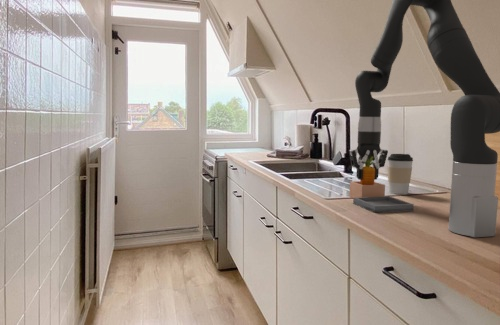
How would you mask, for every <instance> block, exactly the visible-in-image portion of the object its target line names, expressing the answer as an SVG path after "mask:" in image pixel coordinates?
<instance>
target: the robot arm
mask: <svg viewBox="0 0 500 325" xmlns="http://www.w3.org/2000/svg"><path fill="white" fill-rule="evenodd" d="M410 6H416V7H417V6H418V7H422V8H423V9H424V10H425V12H426V14H427V16H428V18H429V20H430V25H429V29H428V31H427V32H428V34H427V38H426V42H427V43H426V44H427V48H428V50H429V53H430V54H431V57H432V59H433V61H434V63H435V65H436V66H437V67H438V68H439V70H440V71H441V72H442V73H443V74H444V75H446V77H448V78H449V79H450V80H452V82H454V84H456V85H457V86H458V87H459V88H460V89H461V91H462V92H463V95H461V97H459V98H458V99H457V100H456V101H455V102H454V104H453V107H452V109H451V113H450V140H449V141H450V143H449V144H450V149H451V153H452V171H451V173H452V174H451V184H450V185H451V186H450V198H449V199H450V200H449V216H448V217H449V218H448V231H450V232H452V233H454V234H458V235H462V236H468V237H471V238H487V237H495V236H496V233H497V232H496V230H497V228H496V227H497V220H498V219H497V218H498V205H499V196H496V194H495V193H496V181H497V170H498V169H497V168H498V158H499V157H498V156H499V155H498V152H497V151H496V150H494V149H493V148H491V147H489V146H488V144H487V143H486V134H488V135H489V134H496V133H500V91H499V90H498V88H497V87H496V84H495V83H494V82H493V81H492V79H491V77H490V76H489V74H488V72H487V70H486V69H485V68H484V65H483V62H482V61H481V59H480V57H479V56H478V54H477V52H476V50H475V48H474V45H473V44H472V41H471V39H470V37H469V35H468V34H467V30H466V29H465V27H464V26H463V24H462V22H461V20H460V18H459V15H458V13H457V11H456V9H455V7H454V5H453V3H452V0H392V2H391V5H390V8H389V12H388V16H387V18H386V19H387V20H386V22H385V27H384V28H383V32H382V34H381V37H380V40H379V41H378V43H377V46H375V50H374V51H373V53H372V55H371V58H370V64H371V65H372V67H374V68H375V69H376V70H375V71H374V70H361V71H359V73H358V74H357V75H356V78H355V81H354V83H355V91H356V95H357V98H358V99H357V100H358V104H359V113H358V114H359V116H358V124H357V147H356V148H355V149H349V150H348V154H349V159H350V164H351V167H353V168H355V169H356V178H357V180H358V181H360V180H362V179H363V169H362V168H363V166H365V162H366V160H367V159H368V160H369V159H371V156H373V157H374V158H373V160H372V161H371V162H374V163H373V164H372V165H371V166H372V167H373V168H375V179H374V181H376V180H378V178H379V170H380V169H381V168H384V167H385V163H386V161H387V158H388V153H389V151H388V150H387V149H382V148H381V147H380V146H381V145H380V144H381V134H382V120H381V118H382V102H381V101H380V100H379V99H376V98H373V95H372V93H381V92H383V91H384V90H385V89H386V88H387V86H388V85H389V81H390V76H391V71H392V67H393V64H394V63H395V61H396V59H397V57H398V55H399V54H400V51H401V49H402V45H403V40H404V36H403V35H404V33H403V23H404V19H405V16H406V13H407V12H408V9H409V7H410ZM378 155H379V156H378ZM357 156H358V157H357Z"/></svg>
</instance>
